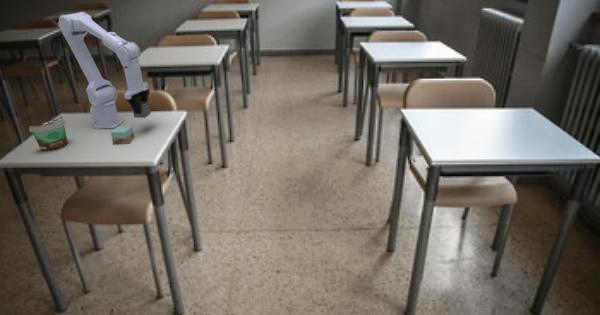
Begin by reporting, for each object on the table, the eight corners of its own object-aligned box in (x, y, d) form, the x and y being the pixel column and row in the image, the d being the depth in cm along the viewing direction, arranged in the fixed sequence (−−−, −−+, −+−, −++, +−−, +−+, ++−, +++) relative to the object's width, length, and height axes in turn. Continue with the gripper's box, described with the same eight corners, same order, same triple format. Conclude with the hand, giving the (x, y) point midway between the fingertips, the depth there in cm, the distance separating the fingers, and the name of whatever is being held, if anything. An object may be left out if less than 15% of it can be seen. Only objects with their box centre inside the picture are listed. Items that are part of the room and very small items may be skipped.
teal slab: (112, 138, 154) (110, 132, 153) (120, 132, 159) (118, 126, 158) (125, 138, 153) (124, 132, 152) (133, 132, 158) (132, 126, 157)
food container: (46, 155, 148) (37, 129, 143) (37, 151, 151) (27, 126, 146) (78, 142, 157) (71, 117, 152) (69, 139, 160) (61, 114, 155)
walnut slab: (113, 145, 154) (111, 139, 153) (118, 139, 159) (117, 133, 158) (129, 144, 154) (128, 138, 153) (134, 138, 160) (133, 132, 159)
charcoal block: (134, 117, 161) (131, 105, 158) (139, 113, 164) (137, 101, 162) (145, 117, 160) (142, 105, 158) (150, 113, 164) (148, 101, 162)
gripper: (134, 82, 148) (142, 118, 154) (152, 71, 161) (159, 104, 167) (115, 82, 149) (124, 117, 155) (135, 71, 162) (142, 104, 168)
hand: (141, 111), depth 161 cm, fingers closed on charcoal block, 4 cm apart
